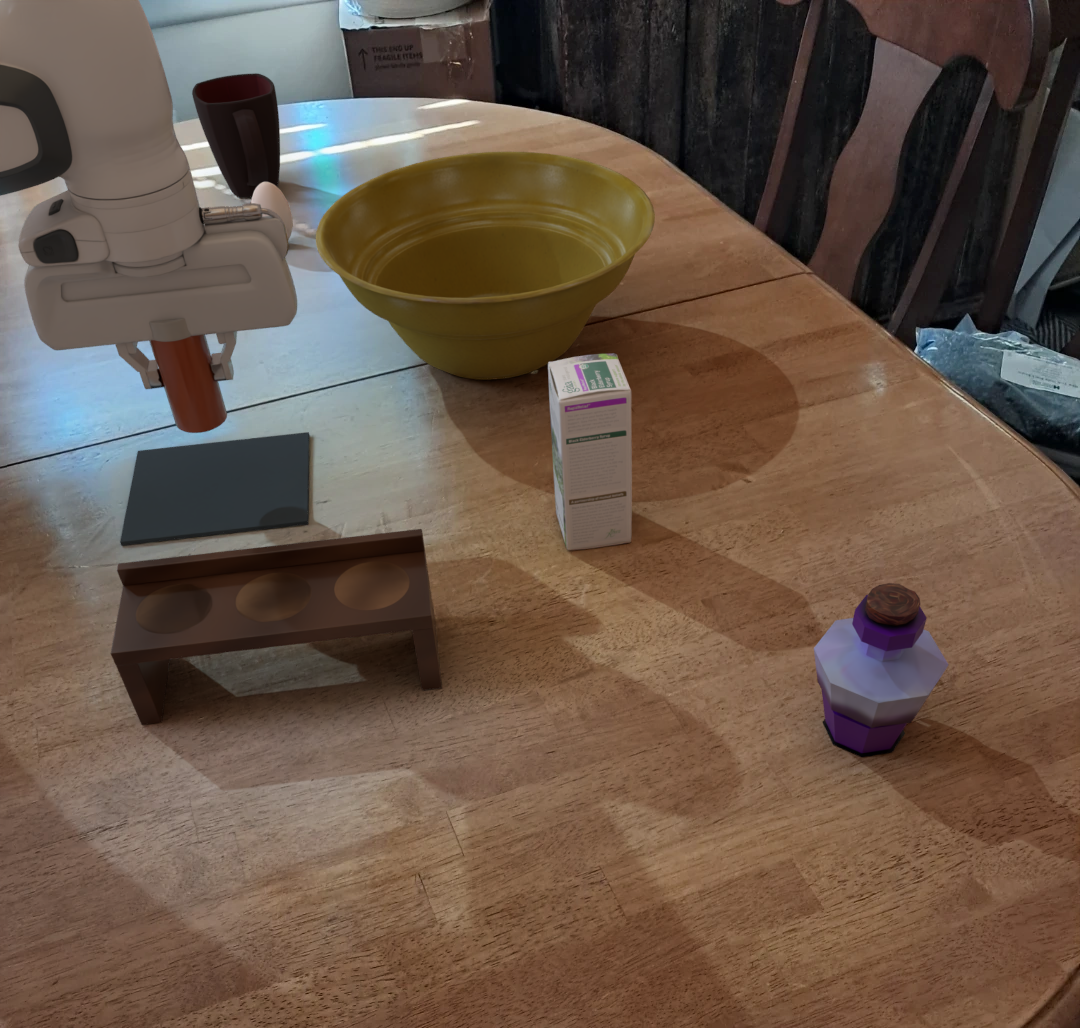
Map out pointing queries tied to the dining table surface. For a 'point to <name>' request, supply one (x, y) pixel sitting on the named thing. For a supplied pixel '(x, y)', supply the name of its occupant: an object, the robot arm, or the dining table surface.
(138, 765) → the dining table surface
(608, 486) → the syrup box
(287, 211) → the egg
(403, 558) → the spice shelf
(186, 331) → the shaker
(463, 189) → the planter bowl
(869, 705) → the potion bottle
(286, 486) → the mat
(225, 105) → the cup
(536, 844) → the dining table surface
